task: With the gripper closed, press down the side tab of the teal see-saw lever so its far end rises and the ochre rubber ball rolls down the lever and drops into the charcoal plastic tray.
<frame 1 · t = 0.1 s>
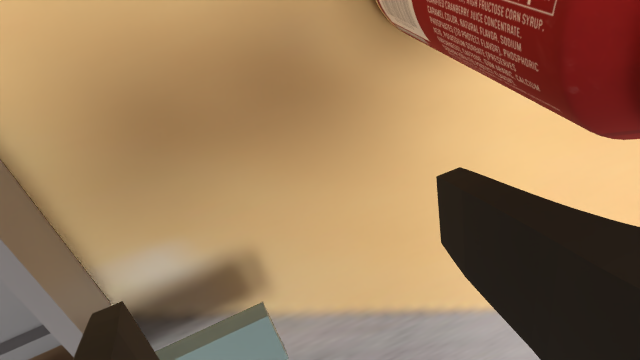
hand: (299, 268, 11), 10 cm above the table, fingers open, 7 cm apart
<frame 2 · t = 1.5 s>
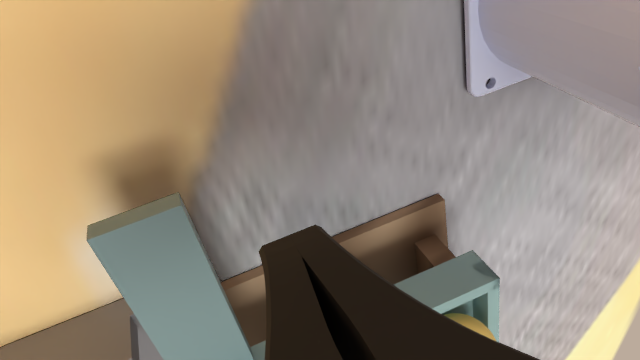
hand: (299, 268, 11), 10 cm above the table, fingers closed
ball: (457, 354, 22), point 6 cm above the table, touching lever
lever: (338, 307, 20), point 4 cm above the table, hinge at 0.0°, touching ball
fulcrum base: (322, 301, 26), on the table
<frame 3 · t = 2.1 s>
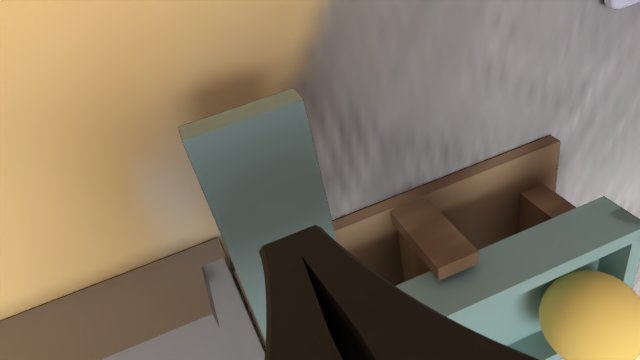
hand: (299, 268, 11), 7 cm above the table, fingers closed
ball: (591, 319, 18), point 6 cm above the table, touching lever
lever: (461, 256, 17), point 4 cm above the table, hinge at 0.0°, touching ball
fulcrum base: (409, 262, 23), on the table
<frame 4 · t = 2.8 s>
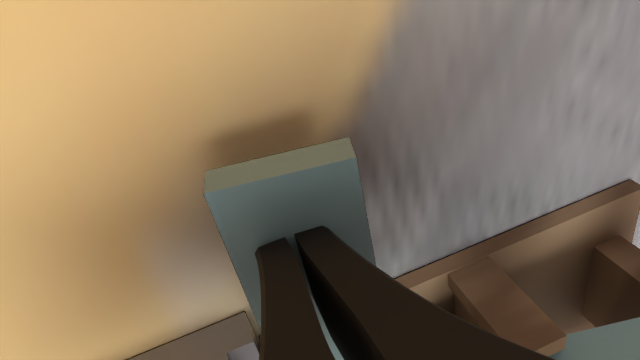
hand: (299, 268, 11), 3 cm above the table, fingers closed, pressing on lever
lever: (541, 347, 13), point 4 cm above the table, hinge at 12.5°, touching ball, gripper
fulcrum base: (461, 325, 19), on the table
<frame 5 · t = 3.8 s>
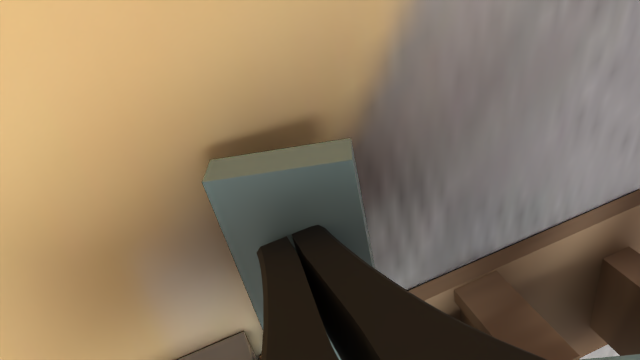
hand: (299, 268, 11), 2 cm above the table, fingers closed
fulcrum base: (467, 339, 19), on the table
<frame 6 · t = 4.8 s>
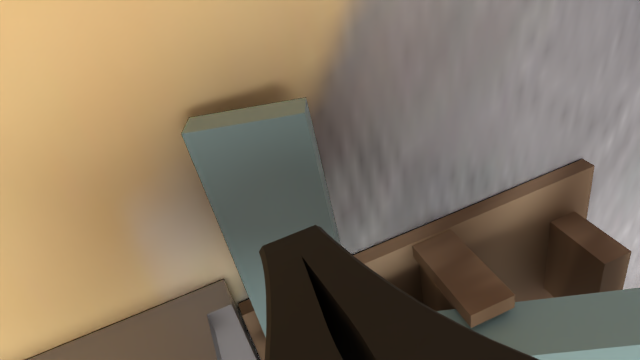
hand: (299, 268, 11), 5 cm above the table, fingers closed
lever: (485, 305, 15), point 4 cm above the table, hinge at 21.5°
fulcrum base: (429, 296, 21), on the table
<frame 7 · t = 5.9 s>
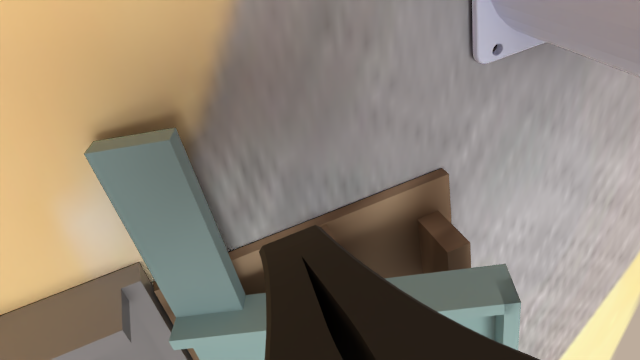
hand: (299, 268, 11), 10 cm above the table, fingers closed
lever: (330, 281, 19), point 4 cm above the table, hinge at 21.5°
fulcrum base: (321, 280, 25), on the table
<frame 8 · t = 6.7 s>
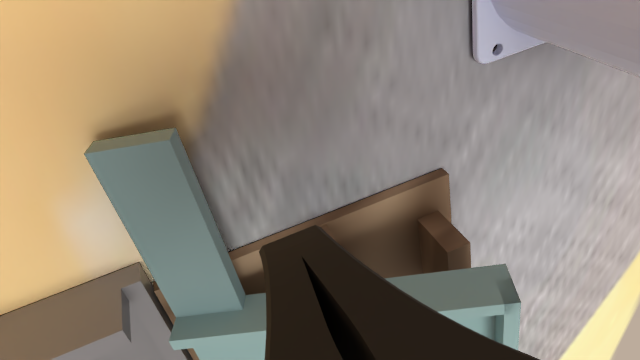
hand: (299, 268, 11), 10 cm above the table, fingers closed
lever: (330, 281, 19), point 4 cm above the table, hinge at 21.5°
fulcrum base: (321, 280, 25), on the table
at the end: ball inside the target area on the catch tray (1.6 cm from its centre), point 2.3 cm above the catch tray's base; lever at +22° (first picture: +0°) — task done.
